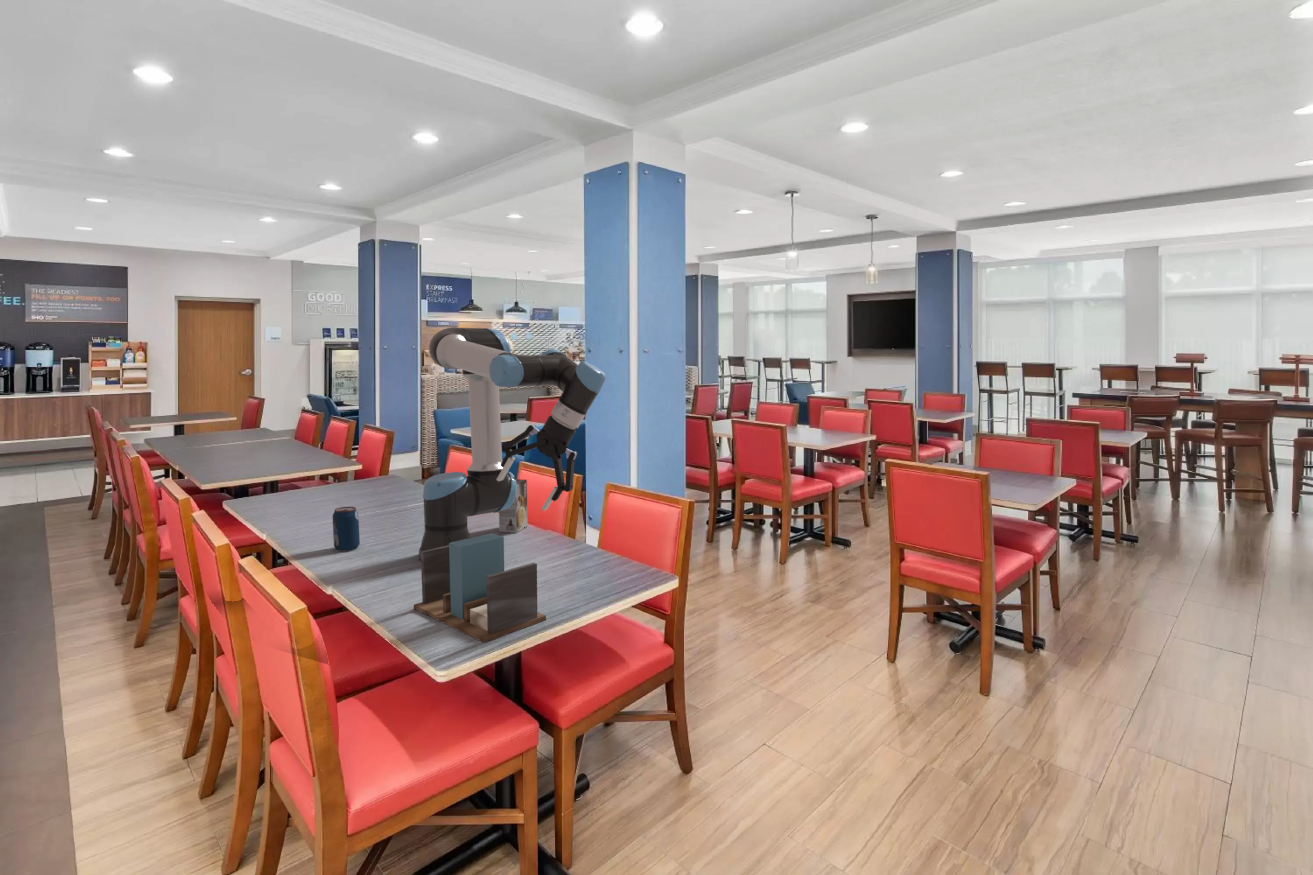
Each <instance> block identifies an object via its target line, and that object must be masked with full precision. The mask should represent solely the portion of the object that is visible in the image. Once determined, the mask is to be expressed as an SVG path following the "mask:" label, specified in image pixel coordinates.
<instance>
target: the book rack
mask: <svg viewBox="0 0 1313 875" xmlns="http://www.w3.org/2000/svg"><path fill="white" fill-rule="evenodd" d="M420 561H421V562H420V564H421V565H420V567H421V568H420V569H421V596H422V597H421V598H422V599H421V600H422V601H421V602H418V603H415V604H413V609H414V608H415V609H417V610H419V611H421V612H423V613H425V614H427V615H426V616H428V615H429V616H428V617H430V616H431V617H430V618H432V617H433V618H432V619H434V618H436V619H438V620H439V621H438V620H437V621H438V622H440V621H441V622H440V623H442V622H444V623H446V624H447V625H446V624H445V625H446V626H448V625H450V626H449V627H451V626H452V627H451V628H453V627H454V628H453V629H455V630H457V629H458V630H457V631H459V630H460V631H459V632H461V631H462V632H461V633H463V632H464V633H463V634H465V633H466V634H465V635H467V634H468V636H469V635H470V637H471V636H473V637H475V638H474V639H475V640H478V639H479V640H478V641H480V642H481V643H482V642H483V643H486V642H490V641H493V640H494V639H497V638H500V636H501V637H503V636H505V634H506V635H508V633H509V634H511V633H514V632H517V631H519V629H520V630H523V629H525V628H528V627H531V626H532V625H536V624H538V623H541V622H544V621H546V620H547V616H546V614H543V613H541V612H539V611H538V564H537V563H536V562H530V563H528V564H523V565H520V566H517V567H513V568H510V569H505V570H504V571H502V572H498V573H495V574H491V575H488V576H486V578H487V597H484V598H481V599H477V600H474V601H471V602H468V603H464V619H460V618H458V617H456V616H454V615H452V614H451V596H450V560H449V545H447V546H443V547H439V548H434V549H430V550H426V551H421V560H420ZM415 609H414V610H415ZM417 610H416V611H417ZM419 611H418V612H419ZM421 612H420V613H421ZM423 613H422V614H423ZM425 614H424V615H425ZM436 619H435V620H436ZM444 623H443V624H444ZM516 630H517V631H516ZM473 637H472V638H473Z"/></svg>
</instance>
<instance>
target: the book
mask: <svg viewBox="0 0 1313 875" xmlns="http://www.w3.org/2000/svg"><path fill="white" fill-rule="evenodd" d="M504 540H505V537H504V536H502V535H498V534H496V533H487V534H483V535H479V536H473V537H470V538H469V539H464V540H460V541H456V542H451V543H449V560H450V596H451V614H452V615H454V616H456V617H458V618H460V619H464V603H468V602H471V601H474V600H477V599H481V598H484V597H487V578H486V576H488V575H491V574H495V573H498V572H502V571H505V544H504V542H505V541H504Z"/></svg>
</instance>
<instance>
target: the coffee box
mask: <svg viewBox="0 0 1313 875" xmlns="http://www.w3.org/2000/svg"><path fill="white" fill-rule="evenodd" d="M514 480H516V484H517V493H516V498H515V500H514V502H513V504H512V505H511V506H510V507H509V508H508V509H506V510H502V511H499V512H498V524H499V525H498V528H499V530H498V532H499V533H509V532H510V533H511V534H518V533H519V532H520V531H522V530H524V529H525V528H527V527H528V525H529V524H528V479H523V478H522V479H521V478H519V479H517V478H514ZM526 526H527V527H526ZM524 527H525V528H524ZM517 532H518V533H517ZM510 533H509V534H510Z"/></svg>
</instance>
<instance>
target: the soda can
mask: <svg viewBox="0 0 1313 875" xmlns="http://www.w3.org/2000/svg"><path fill="white" fill-rule="evenodd" d="M359 517H360V516H359V513H358V511H357V508H356V507H354V506H341V507H336V508H335V509H334V512H333V513H332V533H333V535H332V536H333V547H334V549H336V551H338V552H351V551H355V550H358V548H359V546H360V545H361V540H360V521H359Z"/></svg>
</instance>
